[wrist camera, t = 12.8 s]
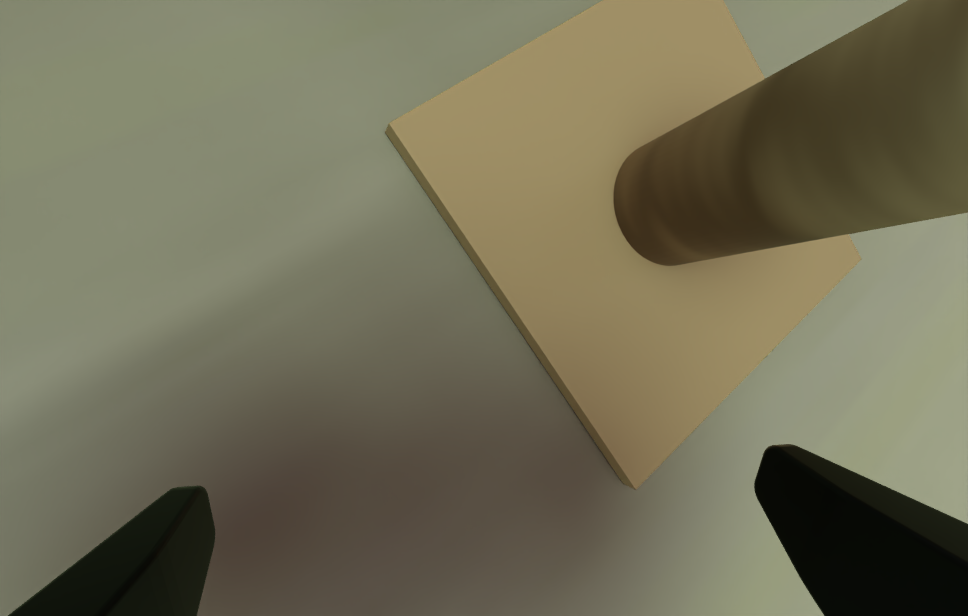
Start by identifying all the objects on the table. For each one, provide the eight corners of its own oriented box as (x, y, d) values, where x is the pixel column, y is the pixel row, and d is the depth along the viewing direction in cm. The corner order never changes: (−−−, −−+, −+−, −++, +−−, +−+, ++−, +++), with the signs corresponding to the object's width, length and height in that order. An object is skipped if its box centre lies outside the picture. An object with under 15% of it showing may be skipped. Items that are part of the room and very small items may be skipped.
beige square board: (844, 261, 25) (861, 259, 24) (623, 483, 20) (635, 489, 19) (681, -40, 23) (694, -53, 22) (385, 132, 18) (388, 123, 17)
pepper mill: (723, 257, 21) (1282, 158, 9) (624, 273, 20) (1150, 175, 8) (705, 140, 21) (1242, -117, 9) (604, 145, 20) (1099, -162, 8)
